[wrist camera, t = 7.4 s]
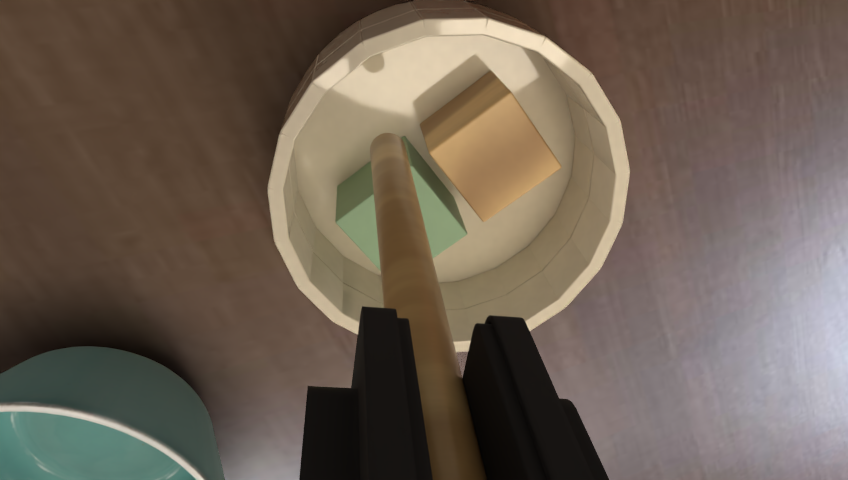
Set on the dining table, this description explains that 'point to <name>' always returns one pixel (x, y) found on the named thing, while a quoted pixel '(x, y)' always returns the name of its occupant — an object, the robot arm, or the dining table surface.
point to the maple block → (488, 146)
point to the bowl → (102, 420)
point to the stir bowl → (402, 114)
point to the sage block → (433, 198)
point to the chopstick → (422, 313)
